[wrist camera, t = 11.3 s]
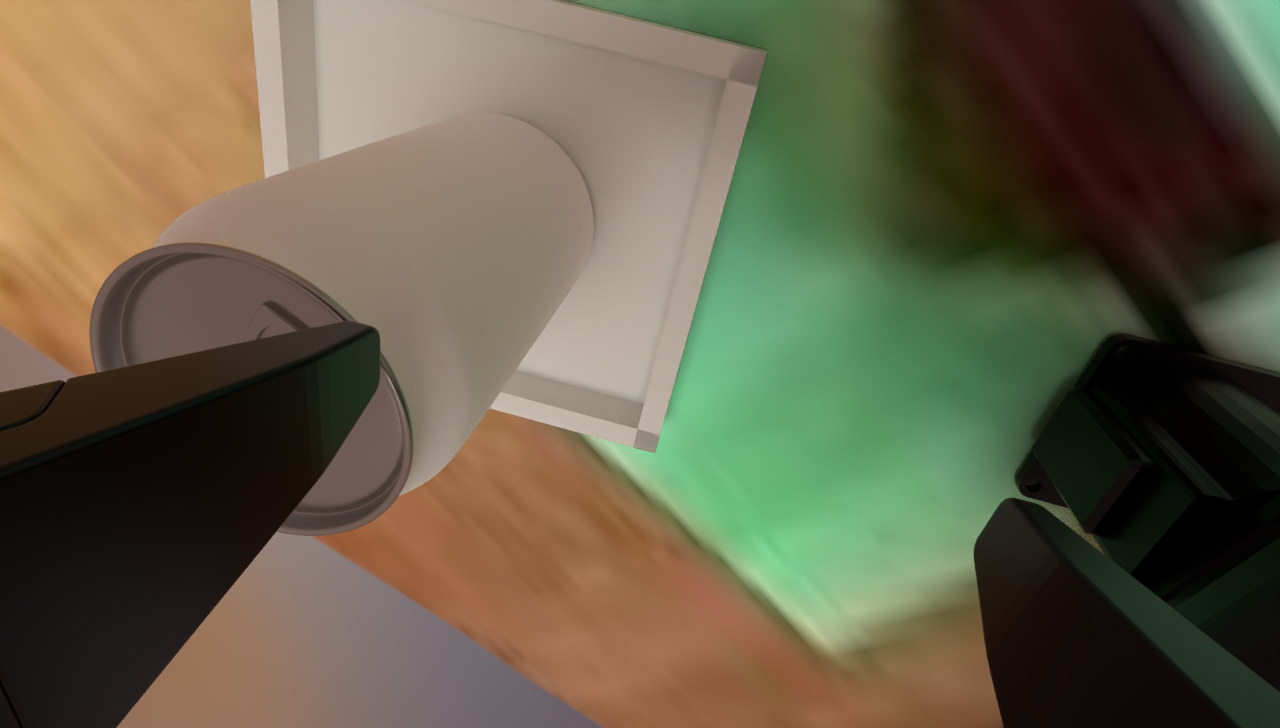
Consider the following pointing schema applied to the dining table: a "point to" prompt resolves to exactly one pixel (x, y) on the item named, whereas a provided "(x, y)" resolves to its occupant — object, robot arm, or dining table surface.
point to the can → (373, 286)
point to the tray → (573, 118)
